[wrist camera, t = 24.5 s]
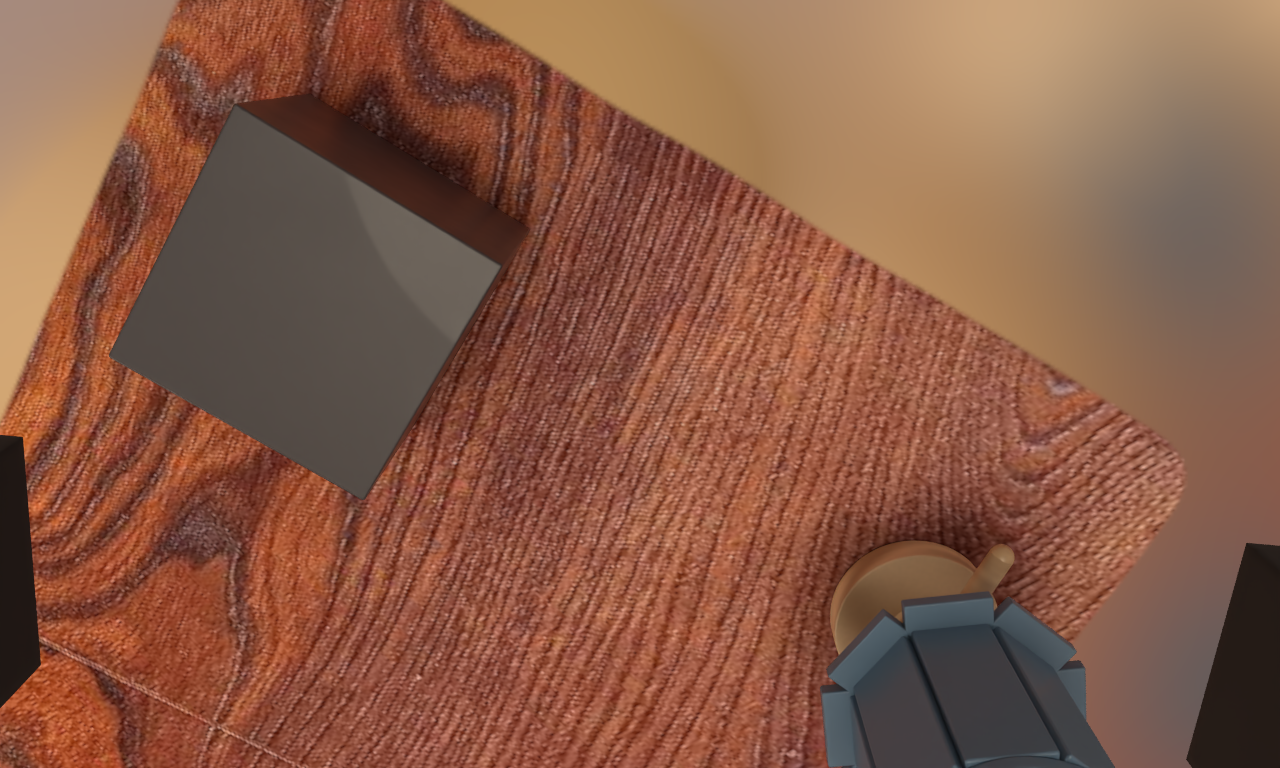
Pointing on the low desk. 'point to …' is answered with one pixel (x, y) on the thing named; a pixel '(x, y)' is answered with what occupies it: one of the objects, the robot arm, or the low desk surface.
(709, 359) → the low desk surface
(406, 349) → the riser
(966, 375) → the low desk surface
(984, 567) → the hat stand
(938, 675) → the hat
